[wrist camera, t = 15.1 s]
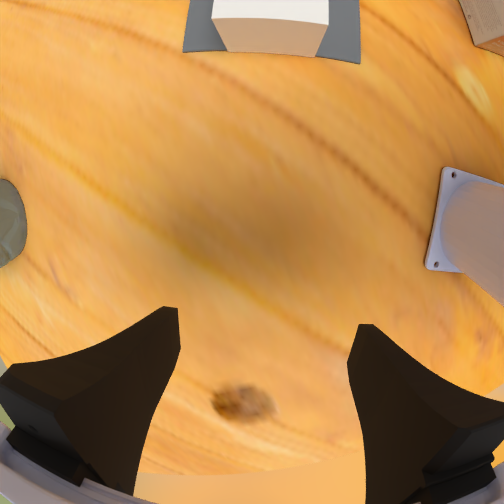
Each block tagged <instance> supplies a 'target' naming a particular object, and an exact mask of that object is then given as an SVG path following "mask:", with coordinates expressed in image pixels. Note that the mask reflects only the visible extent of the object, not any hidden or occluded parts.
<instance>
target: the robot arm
mask: <svg viewBox="0 0 504 504" xmlns="http://www.w3.org/2000/svg"><path fill="white" fill-rule="evenodd" d="M452 172H453V173H454V177H453V178H452ZM435 262H437V264H436V265H435V266H434V263H435ZM425 267H426V268H427V269H429V270H436V271H448V272H460V273H464V274H465V275H467V276H468V277H469V278H470V279H472V280H473V281H474V282H475V283H477V284H478V285H479V286H480V287H481V288H483V289H484V290H485V291H486V292H487V293H488V294H490V295H491V296H492V297H493V298H494V299H495V300H496V301H498V302H499V303H500V304H501V305H502V306H503V307H504V185H503V184H500V183H497V182H494V181H492V180H489V179H486V178H483V177H480V176H477V175H474V174H471V173H468V172H465V171H461V170H458V169H455V168H451V167H444V168H443V169H442V174H441V182H440V189H439V196H438V202H437V208H436V214H435V219H434V224H433V229H432V234H431V238H430V243H429V247H428V251H427V255H426V259H425ZM180 349H181V346H180V334H179V321H178V308H173V307H166V306H163V307H161V308H159V309H157V310H156V311H154V312H153V313H151V314H150V315H148V316H146V317H145V318H143V319H142V320H140V321H139V322H137V323H135V324H134V325H132V326H131V327H129V328H127V329H125V330H124V331H122V332H120V333H118V334H116V335H115V336H113V337H111V338H109V339H107V340H105V341H103V342H101V343H99V344H96V345H94V346H91V347H89V348H86V349H84V350H81V351H78V352H75V353H71V354H68V355H65V356H61V357H57V358H53V359H48V360H43V361H37V362H28V363H17V364H12V365H11V366H10V367H9V368H8V369H7V371H6V372H5V373H4V374H3V375H2V376H1V377H0V404H1V405H2V407H3V408H4V410H5V412H6V413H7V414H8V416H9V417H10V419H11V420H12V422H13V423H14V424H15V427H14V429H13V430H12V431H11V430H10V429H9V428H8V427H7V426H6V425H5V424H4V423H2V422H1V421H0V494H1V495H3V496H4V497H5V498H6V499H8V500H9V501H10V502H11V503H13V504H156V503H153V502H149V501H146V500H143V499H140V498H136V497H133V493H134V486H135V481H136V476H137V471H138V467H139V463H140V458H141V454H142V450H143V447H144V443H145V439H146V436H147V432H148V429H149V426H150V423H151V420H152V417H153V414H154V412H155V409H156V407H157V405H158V403H159V401H160V398H161V396H162V394H163V392H164V390H165V388H166V386H167V384H168V382H169V379H170V377H171V375H172V373H173V371H174V368H175V365H176V362H177V359H178V356H179V352H180ZM347 368H348V376H349V383H350V387H351V391H352V394H353V398H354V402H355V405H356V409H357V413H358V417H359V420H360V424H361V429H362V434H363V442H364V451H365V465H366V501H365V504H504V462H502V463H500V464H499V465H497V466H496V467H494V468H492V466H491V462H493V461H494V456H493V454H492V452H493V451H494V450H495V449H496V448H497V447H498V446H499V444H500V443H501V442H502V441H503V440H504V402H500V401H496V400H493V399H489V398H486V397H483V396H480V395H477V394H474V393H472V392H469V391H467V390H465V389H462V388H460V387H458V386H456V385H454V384H452V383H450V382H448V381H447V380H445V379H443V378H441V377H440V376H438V375H437V374H435V373H433V372H432V371H430V370H429V369H427V368H426V367H425V366H423V365H422V364H420V363H419V362H418V361H417V360H415V359H414V358H413V357H411V356H410V355H409V354H408V353H406V352H405V351H404V350H403V349H402V348H401V347H399V346H398V345H397V344H396V343H395V342H394V341H392V340H391V339H390V338H389V337H388V336H387V335H386V334H384V333H383V332H382V331H381V330H380V329H378V328H377V327H376V326H374V325H373V324H359V326H358V329H357V332H356V336H355V339H354V342H353V345H352V348H351V352H350V355H349V358H348V361H347Z"/></svg>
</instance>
